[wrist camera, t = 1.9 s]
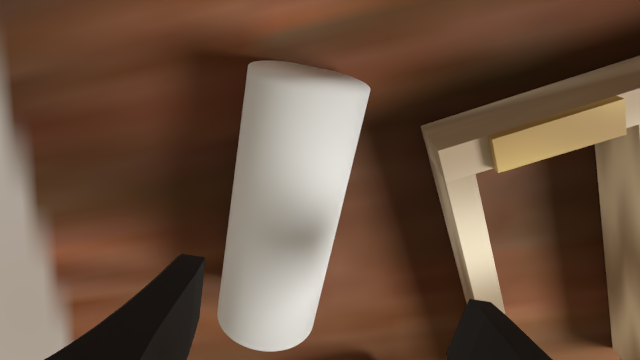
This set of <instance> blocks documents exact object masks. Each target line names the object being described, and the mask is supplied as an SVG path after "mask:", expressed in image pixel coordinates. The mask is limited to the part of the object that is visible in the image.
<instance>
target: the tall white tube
mask: <svg viewBox="0 0 640 360" xmlns="http://www.w3.org/2000/svg"><path fill="white" fill-rule="evenodd" d="M370 90H371V89H370V87H369V86H368V85H367V84H365V83H364V82H362V81H360V80H358V79H356V78H354V77H351V76H349V75H346V74H343V73H340V72H336V71H333V70H328V69H323V68H318V67H313V66H308V65H303V64H298V63H293V62H286V61H271V60H264V61H255V62H252V63H250V64H249V65H248V70H247V78H246V86H245V94H244V102H243V110H242V118H241V126H240V134H239V142H238V150H237V158H236V166H235V174H234V182H233V190H232V199H231V207H230V215H229V223H228V231H227V239H226V247H225V255H224V263H223V271H222V279H221V287H220V295H219V303H218V311H217V316H218V321H219V324H220V326H221V328H222V329H223V331H224V332H225V333H226V334H227V335H228V336H229V337H230V338H231V339H232V340H234V341H235V342H237V343H239V344H241V345H242V346H245V347H247V348H251V349H254V350H259V351H281V350H286V349H289V348H292V347H294V346H296V345H298V344H300V343H301V342H302V341H304V340H305V339H306V338H307V337H308V335H309V334H310V332H311V330H312V327H313V323H314V319H315V315H316V311H317V307H318V303H319V299H320V295H321V291H322V287H323V282H324V278H325V274H326V270H327V266H328V262H329V258H330V254H331V250H332V246H333V241H334V237H335V233H336V229H337V225H338V221H339V217H340V213H341V209H342V205H343V200H344V196H345V192H346V188H347V184H348V180H349V176H350V172H351V168H352V164H353V159H354V155H355V151H356V147H357V143H358V139H359V135H360V131H361V127H362V123H363V118H364V114H365V110H366V106H367V102H368V98H369V94H370Z"/></svg>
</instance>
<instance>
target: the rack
mask: <svg viewBox="0 0 640 360" xmlns="http://www.w3.org/2000/svg"><path fill="white" fill-rule="evenodd" d="M421 130H422V134H423V137H424V141H425V145H426V149H427V153H428V157H429V161H430V164H431V168H432V172H433V176H434V180H435V184H436V188H437V192H438V195H439V199H440V203H441V207H442V211H443V215H444V219H445V222H446V226H447V230H448V234H449V238H450V242H451V246H452V250H453V253H454V257H455V261H456V265H457V269H458V273H459V277H460V281H461V284H462V288H463V292H464V296H465V300H466V304H467V303H468V301H469V299H474V300H481V301H487V302H491V303H492V304H494V305H495V306H496V307H497V308H498V309H499V310H501V311H502V312H503V313H504V314H505V310H504V305H503V301H502V296H501V291H500V287H499V282H498V277H497V273H496V268H495V263H494V259H493V254H492V249H491V245H490V240H489V235H488V231H487V226H486V221H485V217H484V212H483V207H482V203H481V198H480V194H479V189H478V184H477V180H476V175H475V174H476V173H479V172H483V171H486V170H489V169H492V168H494V169H495V170H496V171H497V172H498V173H500V172H503V171H506V170H510V169H513V168H516V167H520V166H523V165H527V164H530V163H533V162H537V161H540V160H543V159H547V158H550V157H553V156H557V155H560V154H563V153H567V152H570V151H573V150H577V149H580V148H583V147H587V146H590V145H593V144H595V153H596V164H597V176H598V187H599V199H600V210H601V221H602V233H603V244H604V256H605V267H606V278H607V290H608V301H609V313H610V324H611V335H612V347H613V350H614V351H615V352H616V353H617V355H618V356H619V357H620V358H621V360H640V56H637V57H634V58H631V59H627V60H624V61H621V62H618V63H615V64H612V65H609V66H606V67H603V68H599V69H596V70H593V71H590V72H587V73H584V74H581V75H578V76H574V77H571V78H568V79H565V80H562V81H559V82H556V83H553V84H550V85H546V86H543V87H540V88H537V89H534V90H531V91H528V92H525V93H521V94H518V95H515V96H512V97H509V98H506V99H503V100H500V101H497V102H493V103H490V104H487V105H484V106H481V107H478V108H475V109H472V110H469V111H465V112H462V113H459V114H456V115H453V116H450V117H447V118H444V119H440V120H437V121H434V122H431V123H428V124H425V125H422V126H421Z"/></svg>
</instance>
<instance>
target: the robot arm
mask: <svg viewBox="0 0 640 360" xmlns="http://www.w3.org/2000/svg"><path fill="white" fill-rule="evenodd" d="M204 267H205V258H204V257H198V256H192V255H185V254H181V255H180V256H178V257H177V258H176V259H175V260H174V261H173V262H172V263H171V264H170V265H169V266H167V267H166V268H165V269H164V270H163V271H162V272H161V273H160V274H159V275H158V276H157V277H156V278H155V279H154V280H152V281H151V282H150V283H149V284H148V285H147V286H146V287H145V288H143V289H142V290H141V291H140V292H139V293H137V294H136V295H135V296H134V297H133V298H132V299H130V300H129V301H128V302H127V303H126V304H124V305H123V306H122V307H121V308H119V309H118V310H117V311H115V312H114V313H113V314H111V315H110V316H109V317H107V318H106V319H105V320H104V321H102V322H101V323H100V324H98V325H97V326H96V327H94V328H93V329H91V330H90V331H88V332H87V333H86V334H84V335H83V336H81V337H80V338H78V339H77V340H75V341H74V342H72V343H71V344H69V345H68V346H66V347H64V348H63V349H61V350H60V351H58V352H57V353H55V354H53V355H52V356H50V357H48V358H46V359H45V360H187V357H188V355H189V352H190V348H191V345H192V341H193V338H194V335H195V331H196V328H197V324H198V321H199V315H200V306H201V296H202V286H203V276H204ZM446 355H447V360H552V359H551V358H550V357H549V356H548V355H547V354H546V353H545V352H544V351H543V350H541V349H540V348H539V347H538V346H537V345H536V344H535V343H534V342H533V341H532V340H531V339H530V338H529V337H528V336H527V335H526V334H525V333H524V332H523V331H522V330H521V329H520V328H519V327H518V326H517V325H515V324H514V323H513V322H512V321H511V320H510V319H509V318H508V317H507V316H506V315H505V314H504V313H503V312H502V311H501V310H499V309H498V308H497V307H496V306H495V305H494V304H492V303H491V302H487V301H481V300H474V299H469V301H468V303H467V306H466V308H465V310H464V313H463V315H462V318H461V320H460V322H459V325H458V327H457V329H456V332H455V334H454V336H453V339H452V341H451V344H450V346H449V348H448V351H447V353H446Z"/></svg>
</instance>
